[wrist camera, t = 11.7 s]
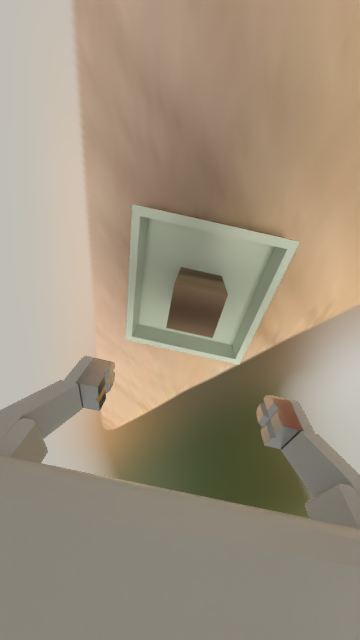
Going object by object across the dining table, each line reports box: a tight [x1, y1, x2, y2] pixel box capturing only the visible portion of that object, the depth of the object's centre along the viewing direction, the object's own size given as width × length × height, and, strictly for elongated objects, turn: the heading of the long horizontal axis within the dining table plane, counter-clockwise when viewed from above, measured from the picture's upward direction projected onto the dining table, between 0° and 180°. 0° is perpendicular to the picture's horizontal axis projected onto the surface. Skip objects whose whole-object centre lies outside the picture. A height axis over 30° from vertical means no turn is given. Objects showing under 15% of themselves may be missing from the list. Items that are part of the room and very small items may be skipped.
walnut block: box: [166, 267, 228, 338], centre depth 20 cm, size 5×5×6 cm
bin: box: [126, 204, 300, 365], centre depth 22 cm, size 16×16×4 cm
